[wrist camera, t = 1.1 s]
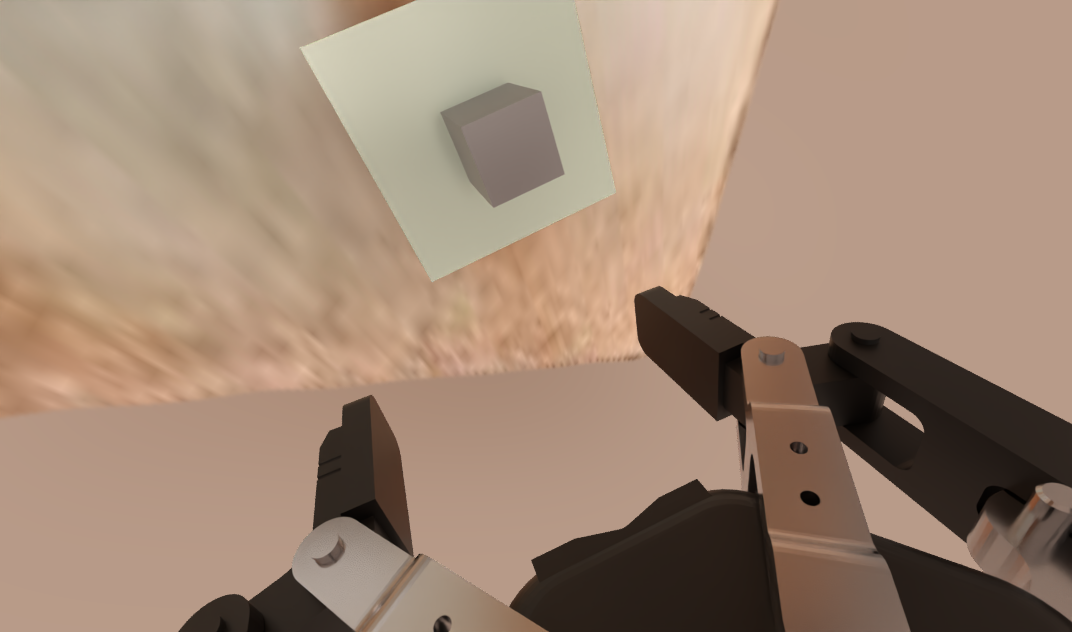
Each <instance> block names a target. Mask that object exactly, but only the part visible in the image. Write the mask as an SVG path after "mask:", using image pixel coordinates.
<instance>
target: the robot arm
mask: <svg viewBox="0 0 1072 632" xmlns="http://www.w3.org/2000/svg"><path fill="white" fill-rule="evenodd" d="M634 302H635V313H636V324H637V334H638V340H639V343H640V345H641V347H642V349H643V351H644V352H645V354H646V355H647V356H648V357H649V358H650V359H651V360H652V361H654V362H655V363H656V364H657V365H658V366H659V367H660V368H661V369H662V370H663V371H664V372H665V373H666V374H667V375H668V376H670V377H671V378H672V379H673V380H674V381H675V382H676V383H677V384H678V385H679V386H680V387H681V388H682V389H683V390H684V391H685V392H686V393H688V394H689V395H690V396H691V397H692V398H693V399H694V400H695V401H696V402H697V403H698V404H699V405H700V406H701V407H702V408H703V409H705V410H706V411H707V412H708V413H709V414H710V415H711V416H712V417H713V418H714V419H715V420H716V421H719V420H721V419H723V418H726V417H728V416H730V415H733V416H734V417H735V418H736V419H737V439H738V450H739V461H740V472H741V485H742V491H740V490H727V489H721V490H710V491H707V490H706V489H705V488H704V487H703V485H702V484H701V483H700V482H699V481H698V480H697V479H696V480H694V481H692V482H690V483H688V484H686V485H684V486H682V487H680V488H677V489H676V490H673V491H671V492H669V493H667V494H665V495H663V496H661V497H659V498H658V499H657V500H656V501H654V502H653V503H652V504H651V505H650V506H649V507H648V508H647V509H645V510H644V511H643V512H642V513H641V514H640V515H639V516H638V517H636V518H635V519H634V520H633V521H632V522H631V523H630V524H629V525H627V526H626V527H624V528H622V529H619V530H615V531H610V532H605V533H600V534H596V535H591V536H586V537H581V538H576V539H574V540H571V541H569V542H567V543H565V544H563V545H561V546H559V547H557V548H555V549H553V550H551V551H549V552H547V553H545V554H543V555H541V556H538V557H536V558H534V559H533V560H531V561H532V564H533V566H534V569H535V571H536V575H535V576H534V577H533V578H532V579H531V580H530V581H528V583H527V584H526V585H525V586H524V587H523V588H522V589H521V590H520V591H519V593H518V594H517V595H516V597H515V598H514V600H513V601H512V603H511V604H510V606H509V607H508V606H507V605H505V604H504V603H502V602H500V601H499V600H497V599H496V598H494V597H492V596H491V595H489V594H488V593H486V592H484V591H483V590H481V589H480V588H478V587H476V586H475V585H473V584H472V583H470V582H468V581H467V580H465V579H464V578H462V577H461V576H459V575H457V574H456V573H454V572H453V571H451V570H449V569H448V568H446V567H445V566H443V565H441V564H440V563H438V562H437V561H435V560H433V559H432V558H430V557H428V556H426V555H424V554H419V555H418V556H417V557H416V558H414V555H413V548H412V540H411V532H410V524H409V516H408V509H407V501H406V493H405V486H404V478H403V471H402V462H401V455H400V450H399V447H398V444H397V441H396V438H395V436H394V434H393V432H392V430H391V428H390V426H389V424H388V423H387V421H386V419H385V417H384V415H383V413H382V411H381V410H380V407H379V405H378V404H377V402H376V400H375V398H374V397H373V396H372V395H369V396H367V397H364V398H362V399H359V400H356V401H354V402H351V403H348V404H346V405H344V406H343V411H342V414H343V415H342V426H341V427H338V428H336V429H333V430H331V431H329V432H328V434H327V436H326V438H325V440H324V441H323V444H322V445H321V447H320V452H319V467H318V475H317V478H318V481H317V487H316V499H315V511H314V522H313V531H312V532H311V533H310V534H309V535H308V536H307V537H306V538H305V539H304V540H303V542H302V543H301V544H300V546H299V547H298V549H297V551H296V553H295V556H294V559H293V563H292V568H291V569H290V570H289V571H288V572H287V573H285V574H284V575H283V576H282V577H281V578H279V579H278V580H277V581H275V582H274V583H272V584H271V585H270V586H269V587H267V588H266V589H264V590H263V591H262V592H261V593H259V594H258V595H256V596H255V597H253V598H252V599H251V600H249V601H247V600H246V599H245V598H244V597H243V596H241V595H237V594H232V595H225V596H222V597H220V598H217V599H215V600H213V601H212V602H210V603H208V604H207V605H205V606H204V607H202V608H201V609H200V610H199V611H197V612H196V613H195V614H194V615H193V616H192V617H191V618H190V619H189V620H188V621H187V622H186V623H185V624H184V626H183V627H182V628H181V629H180V630H179V632H1072V424H1071V423H1069V422H1067V421H1065V420H1063V419H1061V418H1059V417H1057V416H1055V415H1053V414H1051V413H1049V412H1047V411H1045V410H1044V409H1041V408H1040V407H1038V406H1036V405H1034V404H1032V403H1030V402H1028V401H1026V400H1024V399H1022V398H1020V397H1018V396H1016V395H1014V394H1013V393H1011V392H1009V391H1007V390H1005V389H1003V388H1001V387H999V386H997V385H995V384H993V383H991V382H989V381H987V380H985V379H983V378H981V377H980V376H978V375H976V374H974V373H972V372H970V371H968V370H966V369H964V368H962V367H960V366H958V365H956V364H954V363H952V362H950V361H948V360H947V359H945V358H943V357H941V356H939V355H937V354H935V353H933V352H931V351H929V350H927V349H925V348H923V347H921V346H919V345H917V344H915V343H914V342H912V341H910V340H908V339H906V338H904V337H902V336H900V335H898V334H896V333H894V332H892V331H890V330H888V329H886V328H884V327H881V326H878V325H875V324H870V323H863V322H851V323H845V324H841V325H839V326H837V327H835V328H834V329H833V330H832V332H831V336H830V342H829V343H827V344H820V345H814V346H809V347H802V348H800V347H798V346H797V345H796V344H794V343H793V342H791V341H789V340H786V339H783V338H778V337H769V336H766V337H757V338H755V337H754V336H752V335H751V334H749V333H747V332H746V331H744V330H743V329H741V328H740V327H738V326H736V325H735V324H733V323H732V322H730V321H729V320H727V319H726V318H724V317H723V316H721V317H720V315H719V314H718V313H716V312H715V311H713V310H710V309H709V307H707V306H705V305H704V304H703V303H701V302H699V301H698V300H695V299H692V298H689V297H685V296H682V295H679V296H677V297H676V296H674V295H673V294H672V293H670V292H669V291H667V290H666V289H664V288H663V287H660V286H658V287H655V288H652V289H650V290H647V291H644V292H642V293H639V294H637V295H636V296H635V300H634ZM886 396H887V397H889V398H890V399H892V400H893V401H895V402H896V403H898V404H899V405H901V406H903V407H904V408H906V409H907V410H909V411H910V412H912V413H913V414H914V415H916V417H917V418H918V419H919V420H920V421H921V423H922V425H923V428H924V433H923V432H922V431H921V430H919V429H918V428H916V427H915V426H913V425H912V424H910V423H908V422H907V421H906V420H904V419H903V418H901V417H900V416H898V415H897V414H895V413H894V412H892V411H891V410H889V409H888V408H886V407H885V406H883V404H884V400H885V397H886ZM841 441H842V442H843V443H844V444H845V445H847V446H848V447H849V448H850V449H851V450H853V451H854V452H855V453H856V454H858V455H859V456H860V457H861V458H862V459H864V460H865V461H866V462H868V463H869V464H870V465H871V466H872V467H874V468H875V469H876V470H877V471H878V472H880V473H881V474H882V475H883V476H885V477H886V478H887V479H888V480H889V481H891V482H892V483H893V484H894V485H896V486H897V487H898V488H899V489H901V490H902V491H903V492H904V493H905V494H907V495H908V496H909V497H910V498H912V499H913V500H914V501H915V502H917V503H918V504H919V505H920V506H921V507H923V508H924V509H925V510H926V511H928V512H929V513H930V514H931V515H933V516H934V517H935V518H936V519H937V520H939V521H940V522H941V523H942V524H944V525H945V526H946V527H947V528H949V529H950V530H951V531H952V532H954V533H955V534H956V535H957V536H958V537H960V538H961V539H962V540H963V541H965V542H966V543H967V546H968V549H969V552H970V554H971V556H972V557H973V559H974V560H975V562H976V563H977V564H978V565H979V567H980V568H982V570H983V571H982V572H981V571H978V570H975V569H972V568H969V567H966V566H963V565H961V564H958V563H955V562H952V561H949V560H946V559H943V558H940V557H938V556H935V555H932V554H929V553H926V552H923V551H920V550H918V549H915V548H912V547H909V546H906V545H903V544H900V543H897V542H895V541H892V540H889V539H886V538H883V537H880V536H877V535H875V534H872V533H870V532H869V529H868V525H867V522H866V519H865V516H864V513H863V510H862V507H861V504H860V501H859V497H858V494H857V491H856V488H855V485H854V482H853V479H852V476H851V472H850V469H849V466H848V463H847V460H846V457H845V454H844V451H843V447H842V444H841Z"/></svg>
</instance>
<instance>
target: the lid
mask: <svg viewBox="0 0 1072 632" xmlns="http://www.w3.org/2000/svg"><path fill="white" fill-rule="evenodd" d="M300 50H301V51H302V53H303V55H304V57H305V58H306V60H307V62H308V64H309V65H310V67H311V69H312V71H313V73H314V74H315V76H316V78H317V80H318V81H319V83H320V85H321V87H322V88H323V90H324V92H325V94H326V96H327V97H328V99H329V101H330V103H331V104H332V106H333V108H334V110H335V112H336V113H337V115H338V117H339V119H340V120H341V122H342V124H343V126H344V127H345V129H346V131H347V133H348V135H349V136H350V138H351V140H352V142H353V143H354V145H355V147H356V149H357V151H358V152H359V154H360V156H361V158H362V159H363V161H364V163H365V165H366V166H367V168H368V170H369V172H370V174H371V175H372V177H373V179H374V181H375V182H376V184H377V186H378V188H379V189H380V191H381V193H382V195H383V197H384V198H385V200H386V202H387V204H388V205H389V207H390V209H391V211H392V213H393V214H394V216H395V218H396V220H397V221H398V223H399V225H400V227H401V228H402V230H403V232H404V234H405V236H406V237H407V239H408V241H409V243H410V244H411V246H412V248H413V250H414V252H415V253H416V255H417V257H418V259H419V260H420V262H421V264H422V266H423V267H424V269H425V271H426V273H427V275H428V276H429V278H430V280H431V282H434V281H436V280H438V279H440V278H442V277H444V276H446V275H448V274H450V273H452V272H454V271H456V270H458V269H460V268H463V267H465V266H467V265H469V264H471V263H473V262H475V261H477V260H479V259H481V258H483V257H485V256H487V255H489V254H491V253H493V252H495V251H498V250H500V249H502V248H504V247H506V246H508V245H510V244H512V243H514V242H516V241H518V240H520V239H522V238H524V237H526V236H528V235H530V234H533V233H535V232H537V231H539V230H541V229H543V228H545V227H547V226H549V225H551V224H553V223H555V222H557V221H559V220H561V219H563V218H565V217H567V216H570V215H572V214H574V213H576V212H578V211H580V210H582V209H584V208H586V207H588V206H590V205H592V204H594V203H596V202H598V201H600V200H602V199H605V198H607V197H609V196H611V195H613V194H615V193H616V190H615V185H614V180H613V176H612V171H611V167H610V162H609V157H608V153H607V148H606V144H605V139H604V134H603V130H602V125H601V120H600V116H599V111H598V107H597V102H596V97H595V93H594V88H593V84H592V79H591V74H590V70H589V65H588V61H587V56H586V51H585V47H584V42H583V37H582V33H581V28H580V24H579V19H578V14H577V10H576V5H575V1H574V0H416V1H413V2H411V3H408V4H406V5H403V6H401V7H399V8H396V9H394V10H391V11H389V12H386V13H384V14H381V15H379V16H377V17H374V18H372V19H369V20H367V21H364V22H362V23H359V24H357V25H354V26H352V27H350V28H347V29H345V30H342V31H340V32H337V33H335V34H332V35H330V36H328V37H325V38H323V39H320V40H318V41H315V42H313V43H310V44H308V45H306V46H303V47H301V48H300Z"/></svg>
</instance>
